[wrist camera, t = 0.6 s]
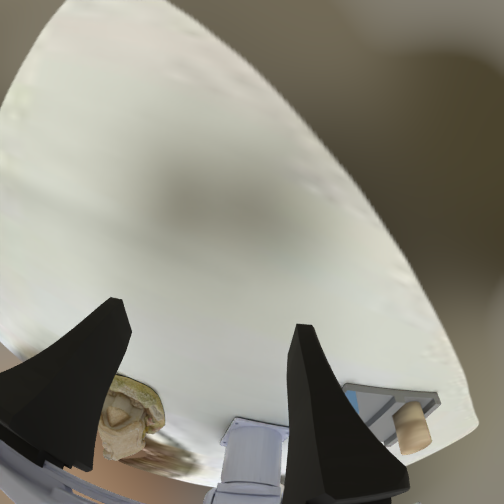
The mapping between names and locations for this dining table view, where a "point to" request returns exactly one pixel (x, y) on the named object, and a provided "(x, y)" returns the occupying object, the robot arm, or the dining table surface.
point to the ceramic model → (128, 417)
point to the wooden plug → (411, 428)
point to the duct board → (386, 407)
